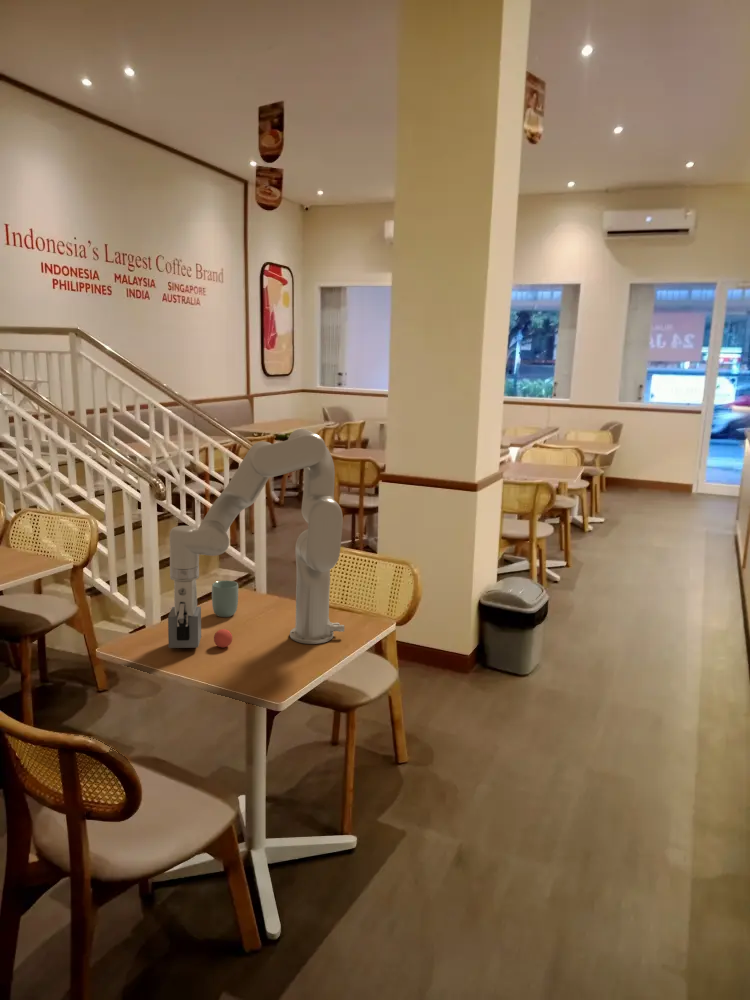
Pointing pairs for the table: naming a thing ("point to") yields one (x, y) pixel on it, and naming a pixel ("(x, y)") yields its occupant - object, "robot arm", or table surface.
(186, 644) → the matte gray cube
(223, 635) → the ball
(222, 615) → the cup
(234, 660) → the table surface
